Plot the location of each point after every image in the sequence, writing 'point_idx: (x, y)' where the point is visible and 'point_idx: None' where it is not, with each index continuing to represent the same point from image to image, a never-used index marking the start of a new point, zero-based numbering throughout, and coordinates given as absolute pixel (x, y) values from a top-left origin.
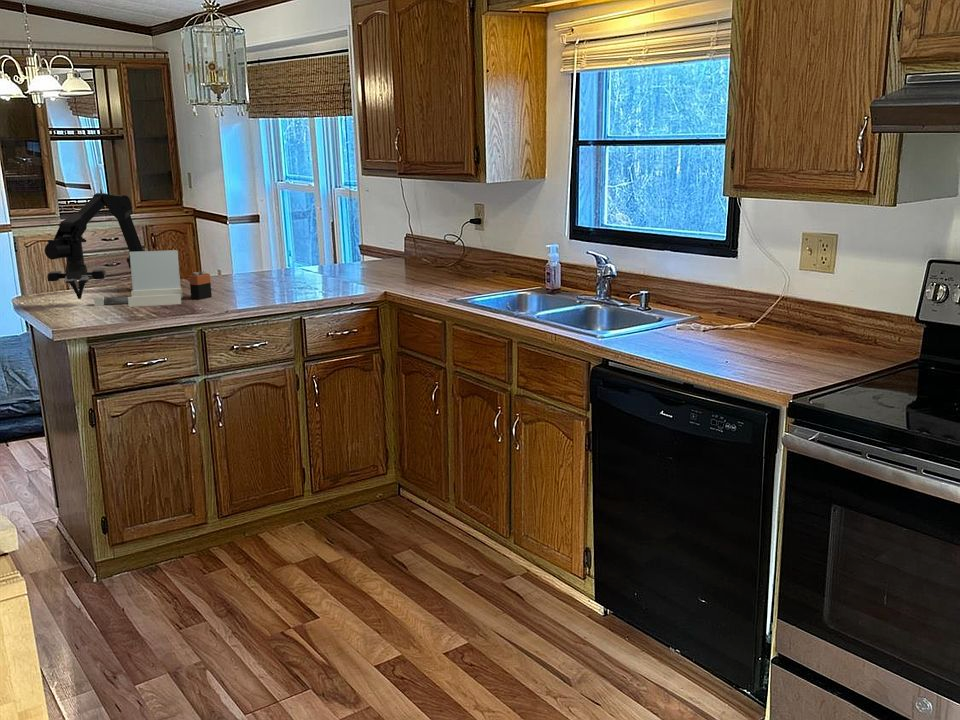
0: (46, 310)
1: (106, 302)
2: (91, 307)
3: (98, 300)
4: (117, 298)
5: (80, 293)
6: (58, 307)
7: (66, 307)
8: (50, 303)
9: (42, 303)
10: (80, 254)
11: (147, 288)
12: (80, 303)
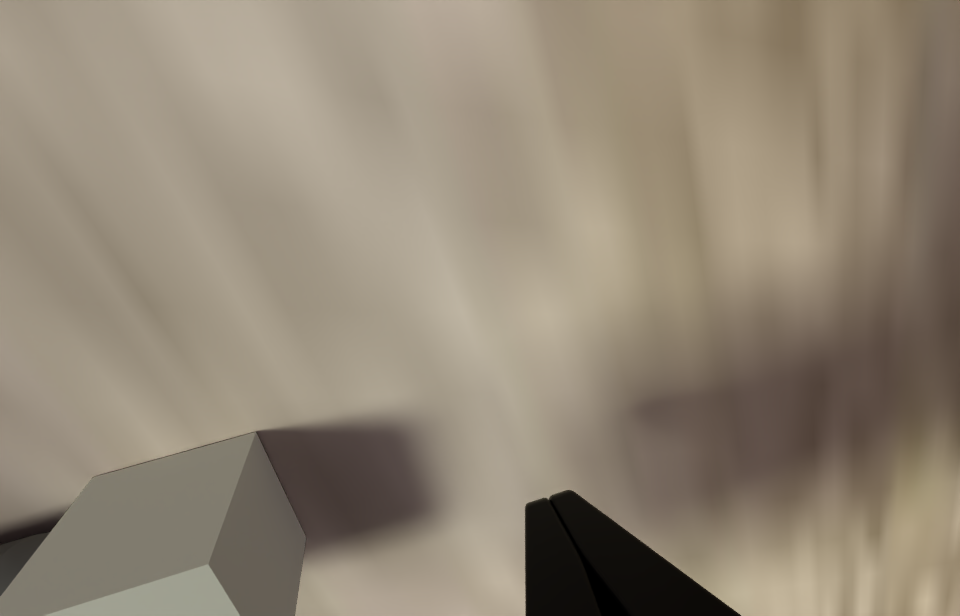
0: (941, 85)
1: (6, 554)
2: (255, 314)
3: (130, 536)
4: None
5: (558, 606)
6: (791, 324)
7: (688, 322)
8: (873, 537)
9: (938, 528)
10: None
11: None
12: None
